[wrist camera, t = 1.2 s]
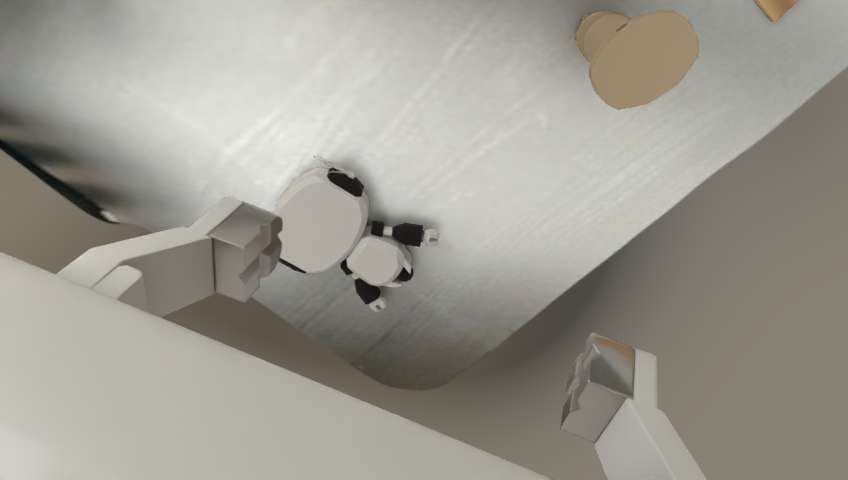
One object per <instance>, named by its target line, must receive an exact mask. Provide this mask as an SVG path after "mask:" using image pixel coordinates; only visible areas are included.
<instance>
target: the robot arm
mask: <svg viewBox="0 0 848 480" xmlns="http://www.w3.org/2000/svg"><path fill="white" fill-rule="evenodd" d="M282 230H283V219H282V218H281V217H280V216H279V215H276V214H274V213H271V212H269V211H266V210H264V209H261V208H259V207H256V206H254V205H251V204H249V203H245V202H243V201H240V200H238V199H235V198H233V197H230V196H228V197H224V198H223V199H222V200H220V201H219V202H218V203H217V204H216V205H215V206H213V207H212V208H211V209H210V210H209V211H208V212H206V213H205V214H204V215H203V216H202V217H201V218H199V219H198V220H197V221H196V222H195V223H194V224H192V225H191V226H190V227H189V228H186V227H183V226H182V227H178V228H174V229H170V230H166V231H162V232H157V233H153V234H149V235H145V236H141V237H137V238H133V239H128V240H124V241H120V242H116V243H112V244H107V245H103V246H99V247H95V248H91V249H89V250H88V251H87V252H85V253H84V254H82V255H81V256H80V257H78V258H77V259H76V260H74V261H73V262H72V263H70V264H69V265H68V266H66V267H65V268H64V269H62V270H61V271H60V272H58V273H57V274H56V275H55V274H52V273H51V272H48V271H46V270H43V269H41V268H38V267H36V266H34V265H31V264H29V263H26V262H24V261H21V260H19V259H16V258H14V257H12V256H9V255H7V254H4V253H2V252H0V480H553V479H551V478H548V477H546V476H543V475H541V474H538V473H536V472H533V471H531V470H528V469H526V468H524V467H521V466H519V465H516V464H514V463H511V462H509V461H507V460H504V459H502V458H499V457H497V456H494V455H492V454H490V453H487V452H485V451H482V450H480V449H477V448H475V447H473V446H470V445H468V444H465V443H463V442H461V441H458V440H456V439H453V438H451V437H448V436H446V435H444V434H441V433H439V432H436V431H434V430H432V429H429V428H426V427H424V426H422V425H419V424H417V423H415V422H412V421H410V420H407V419H405V418H402V417H400V416H398V415H395V414H393V413H390V412H388V411H386V410H383V409H381V408H378V407H375V406H373V405H371V404H368V403H366V402H364V401H361V400H359V399H356V398H354V397H351V396H349V395H347V394H344V393H342V392H339V391H337V390H334V389H332V388H330V387H327V386H325V385H322V384H320V383H317V382H315V381H312V380H310V379H308V378H305V377H303V376H300V375H298V374H295V373H293V372H291V371H288V370H286V369H283V368H281V367H279V366H276V365H274V364H271V363H269V362H267V361H264V360H262V359H259V358H257V357H254V356H252V355H249V354H247V353H245V352H242V351H240V350H237V349H235V348H232V347H230V346H228V345H225V344H223V343H220V342H218V341H216V340H213V339H211V338H208V337H205V336H203V335H201V334H198V333H196V332H194V331H191V330H189V329H186V328H184V327H182V326H179V325H177V324H174V323H172V322H169V321H167V320H165V319H162V318H160V317H162V316H164V315H167V314H169V313H171V312H173V311H176V310H178V309H180V308H183V307H185V306H187V305H189V304H192V303H194V302H196V301H199V300H201V299H203V298H205V297H208V296H210V295H212V294H214V293H215V292H217V293H220V294H223V295H225V296H228V297H231V298H234V299H236V300H239V301H242V302H246V301H247V300H248V299H249V298H250V297H251V295H252V294H253V293H254V292H255V291H256V290H257V289H258V287H259V282H260V278H263V277H266V276H269V275H270V273H271V272H272V271H273V270H274V269H275V267H276V265H277V263H278V261H279V259H280V255H281V251H282V241H281V240H280V238H279V236H278V234H279V233H280V232H281V231H282ZM566 392H567V394H568V396H569V398H568V400H567V401H566V403H565V405H564V407H563V415H562V421H561V427H560V428H561V429H563V430H565V431H567V432H569V433H572V434H574V435H577V436H579V437H581V438H583V439H586V440H588V441H591V442H593V443H595V444H594V446H595V448H596V451H597V453H598V456H599V458H600V461H601V463H602V466H603V468H604V471H605V473H606V476H607V478H608V480H707V479H706V478H705V476H704V475H703V473H702V471H701V470H700V468H699V467H698V465H697V464H696V462H695V461H694V459H693V457H692V456H691V454H690V453H689V451H688V450H687V448H686V446H685V445H684V443H683V442H682V441H681V439H680V437H679V435H678V434H677V432H676V431H675V429H674V428H673V426H672V425H671V423H670V422H669V420H668V419H667V417H666V415H665V414H664V412H663V411H660V410H658V409H657V358H656V356H655V355H654V354H650V353H648V352H645V351H642V350H639V349H637V348H632V347H630V346H627V345H625V344H622V343H619V342H616V341H614V340H611V339H608V338H605V337H603V336H600V335H597V334H595V333H592V334H591V335H590V336H589V338H588V340H587V341H586V343H585V349H584V353H583V354H581V355H579V356H578V357H577V359H576V361H575V363H574V365H573V368H572V370H571V373H570V376H569V380H568V384H567V389H566Z"/></svg>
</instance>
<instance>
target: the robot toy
mask: <svg viewBox="0 0 848 480" xmlns="http://www.w3.org/2000/svg"><path fill="white" fill-rule="evenodd" d="M314 158H315V159H316V160H317V161H319V162H321V163H322V162H323V163H325V164H327V165H329V166H331V167H332V168H331V169H324V168H319V167H317V168H314V169H311V170H308V171H306V172H305V173H303V174H302V175H301V176H299V177H298V178H297V179H296V180H295V181H294V182H293V183H292V184H291V185H290V186H289V187H288V188H287V189H286V190H285V191H284V193H283V194H282V195H281V196H280V198H279V200H278V202H277V205H276V207H275V210H274V212H273V213H274V214H276V215H279V216H280V217H281V218H282V219H283V230H282V231H281V232H280V233H279V234H278V236H279V238H280V240H281V241H282V251H281V255H280V259H279V261H278V263H277V264H280V265H282V266H285V268H286V269H289V270H291V269H293V270H295V271H299V272H302V273H306V272H307V273H317V274H319V273H323V272H326V271H329V270H331V269H332V268H334V267H335V266H337V265H338V264H339V263H341V262H342V263H341V265H340V266H341V269H342V270H343V271H344V272H345V274H346V275H350V274H351V275H352V277H353V278H354V279H355V286H356V291H357V293H358V295H359V296H360V297H361V299H362V300H363V301H364V303H365V304H369V307H370V308H371V309H373V310H374V311H379V310H380V307H379V306H378V304H379V305H380V306H381V307H382V309H384V308H385V307H386V304H387V303H386V301H385V299H384V297H382V296H380V290H379V288H378V287H377V286H388V287H392V288H395V287H398V286H400V285H402V281H404V282H406V281H408V280H410V279H411V278H412V276H413V269H412V267H411V260H412V255H411V254H410V253H409V251H408V250H407V249H406V248H405V245H411V246H418V247H420V244H421V242H423V243H424V244H426V245H427V246H435V245H436V244H437V243H438V239H435V238H439V233H438V231H436V230H433V229H428V230H424V231H423V225H416V224H410V223H403V224H400V225H397V226H395V227H386V226H384V223H383V222H380V221H372V225H371V226H368V227H365V226H366V223H367V219H368V213H369V198H368V197H367V195H366V194H365V193H364V191H363V188H364V186H363V185H362V184H361V182H360V181H359V180H358V179H357V178H356V177H355V173H354V172H352V171H350V170H349V171H347V170H345V169H342V168H340V167H338V166H336V165H334V164H332V163H330V162H328V161H326V160H324V159H323V158H321V157H319V156H314ZM430 237H431V238H430ZM404 244H405V245H404ZM346 257H347V259H345V258H346ZM344 259H345V260H344ZM343 260H344V261H343Z"/></svg>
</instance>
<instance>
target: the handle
mask: <svg viewBox="0 0 848 480" xmlns="http://www.w3.org/2000/svg"><path fill="white" fill-rule="evenodd" d="M575 40H576V41H577V43H578V46H579V49H580V51H581V53H582V54H583V56H584V57H585V58H586V59H587V60H588V61H589V62H590V64H589V77H590V80H591V84H592V86H593V88H594V90H595V91H596V93H597V94H598V95H599V97H600V98H601V99H602V100H603V101H604V102H605V103H606V104H608V105H609V106H611V107H613V108H615V109H618V110H620V109H626V108H631V107H636V106H641V105H644V104H647V103H650V102H651V101H653V100H655V99H657V98H658V97H660V96H661V95H663V94H664V93H666V92H667V91H669V90H670V89H672V88H673V87H674V86H676V85H677V84H678V83H679V82H680V81H681V80H682V78H683V77H684V76H685V75H686V73H687V72H688V70H689V69H690V68H691V66H692V65H693V63H694V62H695V60H696V59H697V57H698V53H699V42H698V38H697V34H696V32H695V30H694V28H693V26H692V25H691V23H690V22H689V21H688V20H687V19H686V18H685V17H684V16H682V15H681V14H679V13H677V12H674V11H671V10H662V11H657V12H652V13H648V14H644V15H641V16H637V17H634V18H633V19H631V20H630V19H629V18H628V17H626V16H624V15H622V14H619V13H616V12H611V11H601V12H596V13H593V14H586V15H585V16H583V17H582V19H581V24H580V26H579V28H578V30H577V31H576V32H575Z"/></svg>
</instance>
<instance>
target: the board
mask: <svg viewBox="0 0 848 480" xmlns="http://www.w3.org/2000/svg"><path fill="white" fill-rule="evenodd" d="M754 1H755V2H756V3H757V4H758V5H759V7H760V8H761V9H762V10H763V12H764V13H765V14H766V15H767V17H768V18H769V19H770V20H771V21H773V22H775V21H776V20H777V19H778V18H779V17H780V16H782V15H783V14H784V13H785V12H786V11H787V10H788V9H790V8H791V7H792V6H793V5H794V4H795V3H796V2H797V1H799V0H754Z"/></svg>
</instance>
